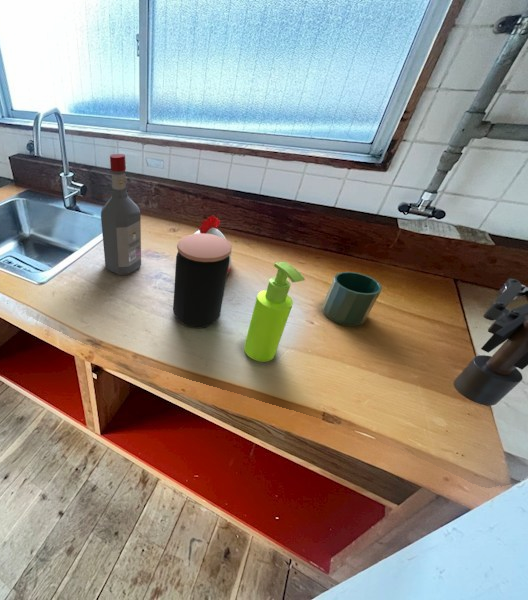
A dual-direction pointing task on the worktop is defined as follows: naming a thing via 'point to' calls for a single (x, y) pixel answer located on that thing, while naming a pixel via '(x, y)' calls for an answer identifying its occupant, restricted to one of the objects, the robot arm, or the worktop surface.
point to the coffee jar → (200, 278)
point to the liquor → (121, 224)
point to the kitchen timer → (212, 230)
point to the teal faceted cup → (350, 298)
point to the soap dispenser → (271, 314)
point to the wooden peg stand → (494, 371)
